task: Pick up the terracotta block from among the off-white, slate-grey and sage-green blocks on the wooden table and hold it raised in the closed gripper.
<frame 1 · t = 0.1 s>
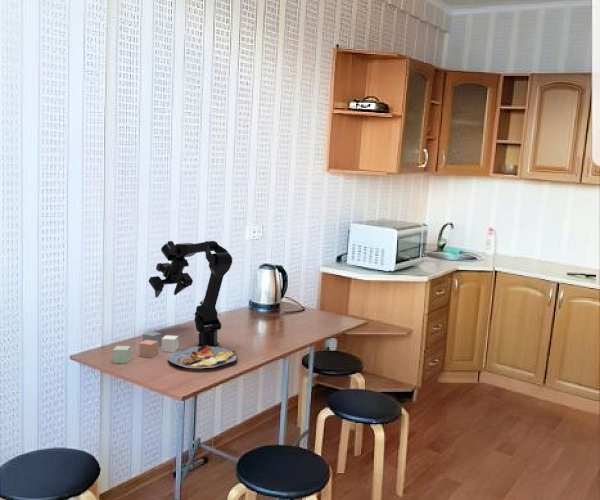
hand: (165, 295, 267), 15 cm above the table, tool tilted 35°, fingers open, 9 cm apart
terracotta block: (148, 355, 232), on the table
food plate: (203, 362, 227), on the table
sage-green block: (122, 361, 224), on the table
slate-grey block: (152, 346, 244), on the table
off-white block: (170, 349, 240), on the table
sundae: (206, 324, 280), on the table
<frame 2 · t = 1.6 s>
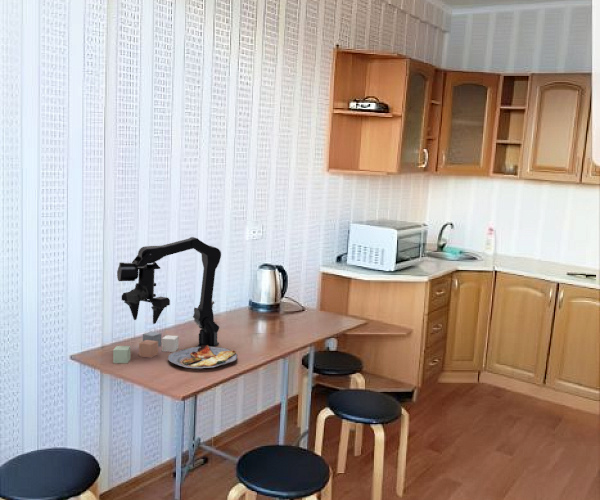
hand: (144, 321, 233), 12 cm above the table, tool pointing down, fingers open, 9 cm apart
nothing on the table moved.
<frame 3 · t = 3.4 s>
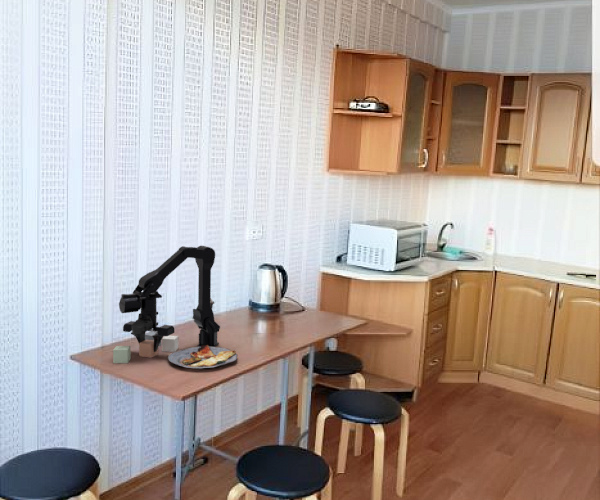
hand: (148, 350, 232), 2 cm above the table, tool pointing down, fingers closed on terracotta block, 5 cm apart
terracotta block: (148, 354, 232), on the table, touching gripper
everything else where it was.
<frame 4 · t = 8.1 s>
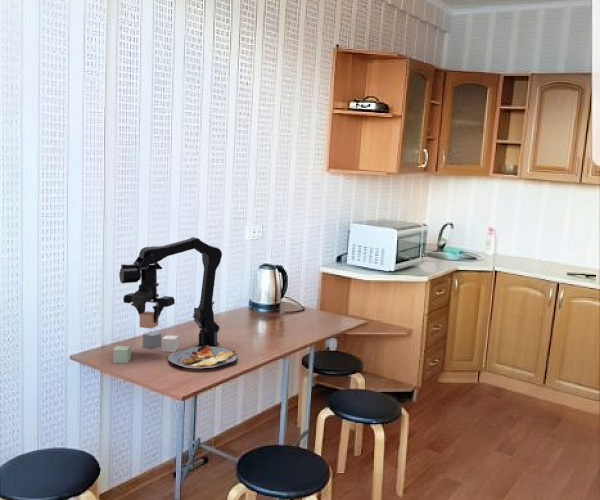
hand: (149, 322, 233), 12 cm above the table, tool pointing down, fingers closed on terracotta block, 5 cm apart
terracotta block: (149, 326, 233), point 10 cm above the table, touching gripper
everything else where it was.
at the end: the gripper is holding terracotta block; terracotta block point 10.4 cm above the table; slate-grey block moved 0.1 cm from its start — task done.
